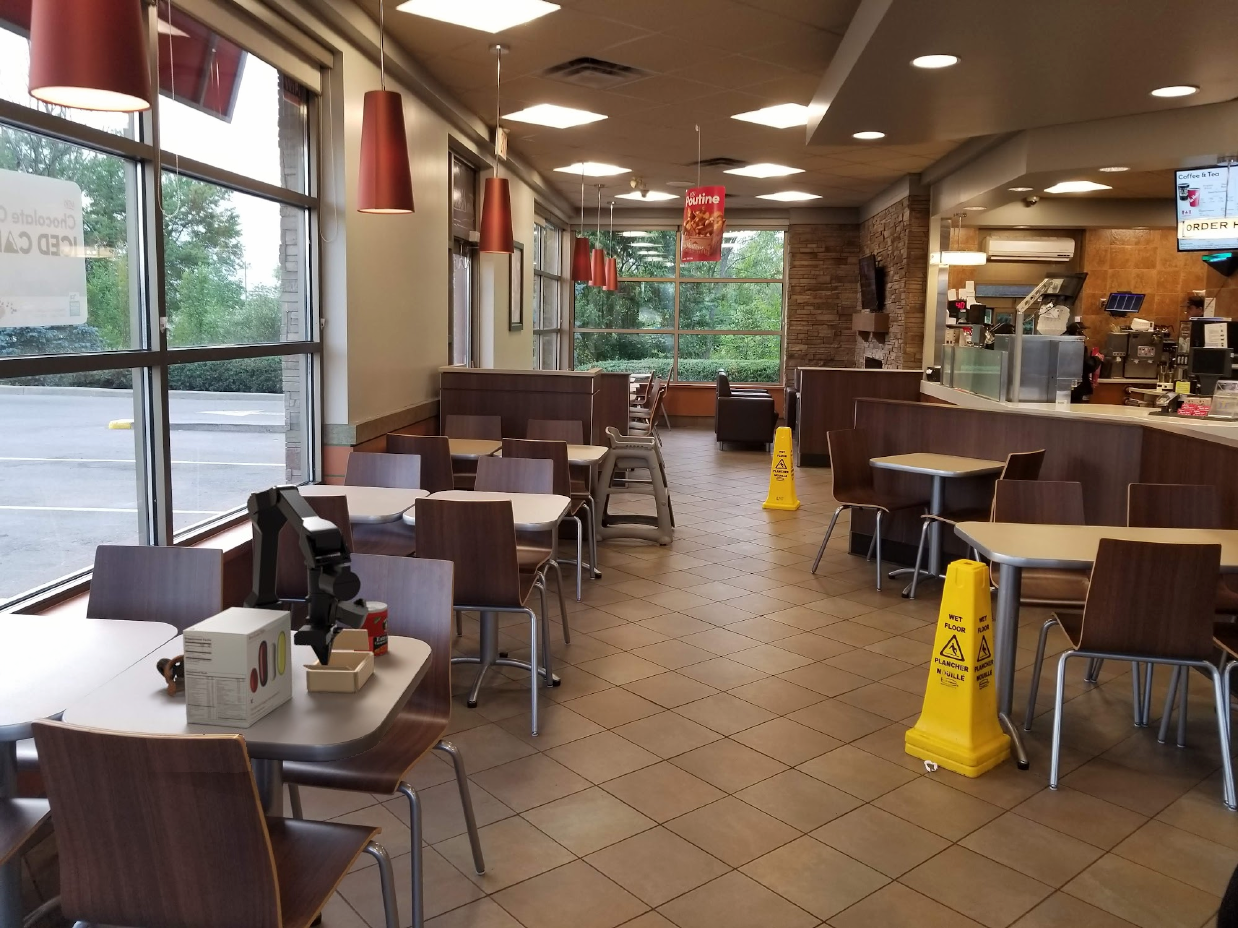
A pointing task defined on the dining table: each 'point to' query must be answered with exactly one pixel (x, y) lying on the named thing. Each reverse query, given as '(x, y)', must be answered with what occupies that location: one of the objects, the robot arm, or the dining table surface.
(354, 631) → the far flap
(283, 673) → the supplement box
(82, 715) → the dining table surface
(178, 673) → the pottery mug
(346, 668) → the near flap
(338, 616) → the robot arm
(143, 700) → the dining table surface
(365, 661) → the carton
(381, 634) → the canned food
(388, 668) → the dining table surface
